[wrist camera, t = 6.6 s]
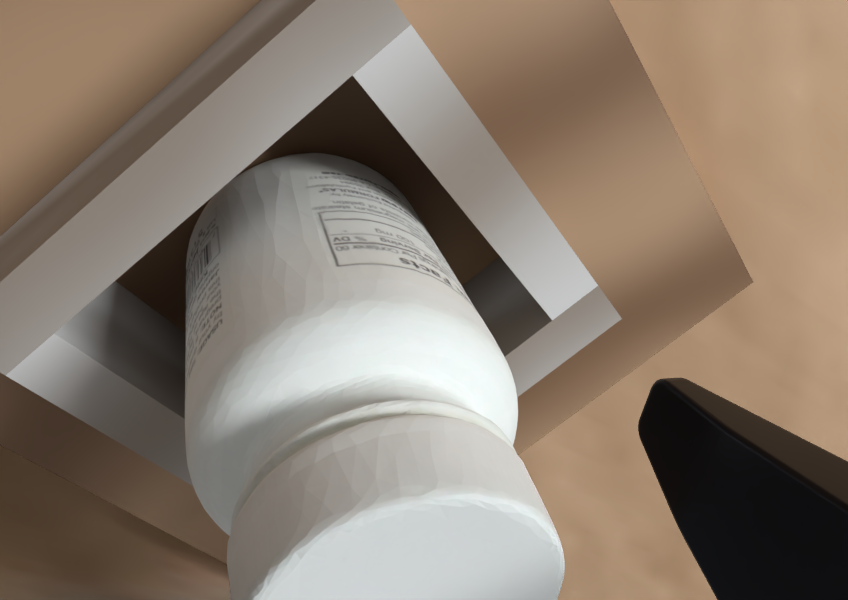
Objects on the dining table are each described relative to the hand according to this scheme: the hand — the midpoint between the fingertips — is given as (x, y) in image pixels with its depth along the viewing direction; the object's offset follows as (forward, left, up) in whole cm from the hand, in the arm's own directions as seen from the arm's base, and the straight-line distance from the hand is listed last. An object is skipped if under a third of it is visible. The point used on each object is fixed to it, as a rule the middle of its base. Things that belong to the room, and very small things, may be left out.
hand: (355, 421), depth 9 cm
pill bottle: (0, 0, -5) cm, 5 cm away
